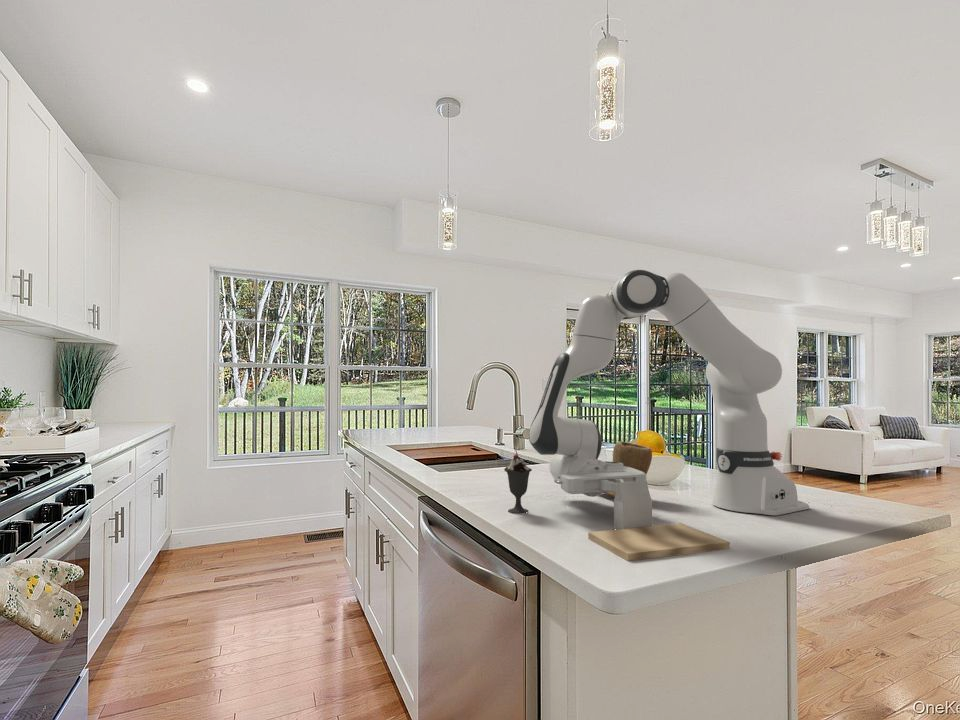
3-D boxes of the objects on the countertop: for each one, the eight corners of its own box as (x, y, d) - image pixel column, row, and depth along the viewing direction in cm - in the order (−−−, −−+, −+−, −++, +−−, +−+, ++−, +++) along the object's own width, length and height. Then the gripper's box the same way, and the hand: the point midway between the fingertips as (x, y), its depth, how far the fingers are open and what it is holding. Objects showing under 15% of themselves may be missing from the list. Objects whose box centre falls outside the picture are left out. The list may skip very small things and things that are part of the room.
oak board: (681, 529, 109) (680, 523, 109) (730, 548, 96) (729, 541, 96) (588, 538, 102) (588, 532, 102) (627, 560, 89) (627, 553, 90)
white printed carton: (652, 531, 108) (651, 482, 108) (623, 533, 106) (622, 484, 106) (642, 526, 111) (641, 479, 112) (614, 529, 109) (613, 481, 110)
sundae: (513, 506, 129) (513, 446, 129) (537, 510, 125) (536, 448, 125) (498, 512, 123) (498, 448, 124) (523, 516, 119) (522, 450, 120)
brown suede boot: (662, 502, 134) (661, 443, 135) (624, 506, 130) (623, 445, 130) (626, 490, 148) (625, 438, 149) (590, 493, 144) (590, 439, 145)
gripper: (550, 466, 123) (579, 475, 110) (625, 461, 129) (661, 470, 116) (551, 493, 122) (579, 506, 109) (626, 487, 129) (661, 499, 115)
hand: (622, 487), depth 113 cm, fingers closed
